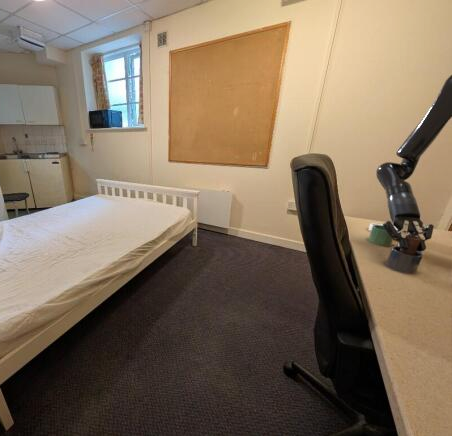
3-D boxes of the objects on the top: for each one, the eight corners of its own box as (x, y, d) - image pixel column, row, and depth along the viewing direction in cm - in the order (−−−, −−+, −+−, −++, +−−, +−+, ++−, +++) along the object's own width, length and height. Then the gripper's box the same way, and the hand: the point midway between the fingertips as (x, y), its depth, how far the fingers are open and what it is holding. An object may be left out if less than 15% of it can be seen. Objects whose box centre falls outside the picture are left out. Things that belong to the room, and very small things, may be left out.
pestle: (411, 265, 80) (423, 238, 77) (407, 268, 79) (419, 240, 75) (396, 260, 83) (407, 234, 80) (393, 263, 82) (404, 236, 78)
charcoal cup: (418, 269, 80) (426, 252, 78) (411, 276, 77) (419, 258, 74) (389, 260, 87) (396, 244, 84) (382, 265, 83) (388, 249, 80)
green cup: (393, 243, 100) (399, 229, 98) (387, 247, 96) (393, 233, 94) (371, 237, 106) (376, 223, 104) (365, 240, 103) (370, 227, 100)
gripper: (386, 200, 82) (395, 244, 75) (435, 203, 78) (450, 249, 71) (373, 210, 89) (381, 250, 82) (418, 213, 85) (430, 255, 78)
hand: (413, 249), depth 77 cm, fingers closed on pestle, 4 cm apart
